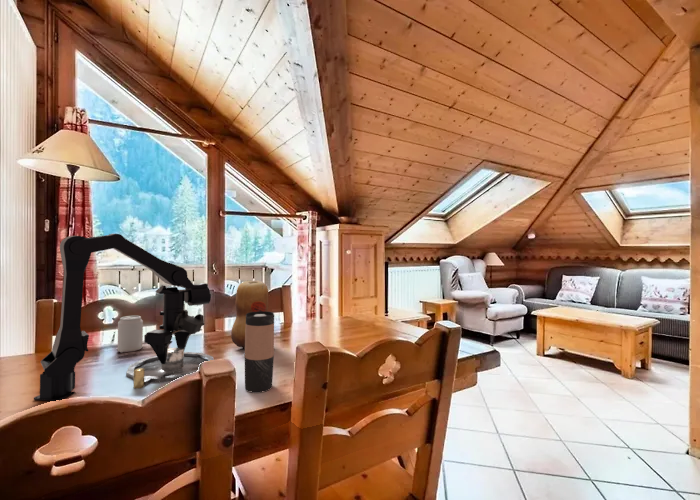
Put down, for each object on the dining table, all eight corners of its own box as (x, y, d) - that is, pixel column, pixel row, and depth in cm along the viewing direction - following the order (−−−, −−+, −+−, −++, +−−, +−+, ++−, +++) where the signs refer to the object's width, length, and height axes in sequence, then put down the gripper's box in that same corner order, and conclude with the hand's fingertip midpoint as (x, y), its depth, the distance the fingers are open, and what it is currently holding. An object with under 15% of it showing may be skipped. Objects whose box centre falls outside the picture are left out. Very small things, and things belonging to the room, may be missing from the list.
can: (130, 354, 119) (131, 319, 119) (111, 353, 120) (112, 318, 120) (147, 348, 126) (148, 315, 126) (129, 346, 128) (130, 314, 128)
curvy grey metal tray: (178, 393, 89) (179, 374, 89) (93, 388, 91) (93, 369, 91) (226, 358, 117) (226, 343, 117) (160, 355, 119) (160, 340, 119)
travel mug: (275, 382, 99) (276, 311, 98) (270, 393, 91) (271, 317, 91) (248, 381, 99) (249, 310, 98) (240, 393, 91) (242, 316, 91)
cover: (176, 371, 103) (176, 354, 103) (156, 369, 103) (157, 353, 103) (187, 364, 109) (187, 348, 109) (169, 363, 109) (169, 347, 109)
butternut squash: (239, 356, 120) (241, 283, 120) (225, 346, 131) (227, 280, 130) (276, 349, 129) (277, 281, 129) (260, 341, 140) (261, 278, 139)
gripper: (181, 314, 96) (180, 371, 96) (213, 303, 115) (212, 351, 115) (143, 312, 97) (142, 368, 97) (181, 302, 116) (180, 349, 116)
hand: (172, 358), depth 106 cm, fingers open, 9 cm apart
